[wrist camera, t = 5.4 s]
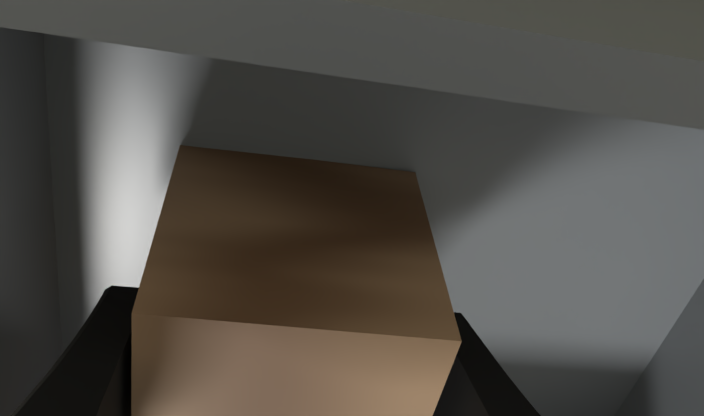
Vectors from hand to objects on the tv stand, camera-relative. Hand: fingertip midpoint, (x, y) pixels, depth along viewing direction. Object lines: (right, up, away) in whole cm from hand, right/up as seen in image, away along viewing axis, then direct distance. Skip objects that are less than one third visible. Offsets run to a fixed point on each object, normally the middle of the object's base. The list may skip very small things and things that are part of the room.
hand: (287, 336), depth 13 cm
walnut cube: (0, +2, +3) cm, 3 cm away
